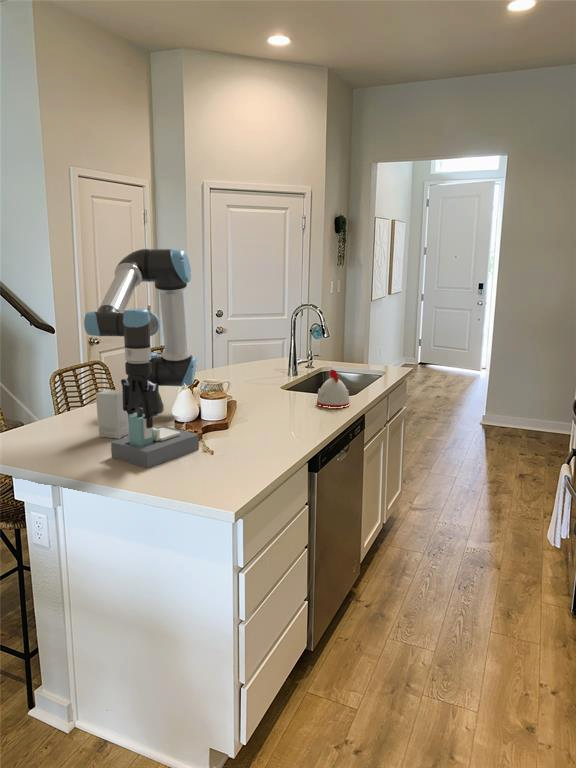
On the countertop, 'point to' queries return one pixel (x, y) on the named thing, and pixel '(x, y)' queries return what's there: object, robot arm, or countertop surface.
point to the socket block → (155, 449)
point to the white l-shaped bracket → (164, 434)
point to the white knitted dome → (333, 392)
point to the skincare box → (111, 414)
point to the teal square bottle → (138, 430)
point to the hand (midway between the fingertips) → (141, 435)
